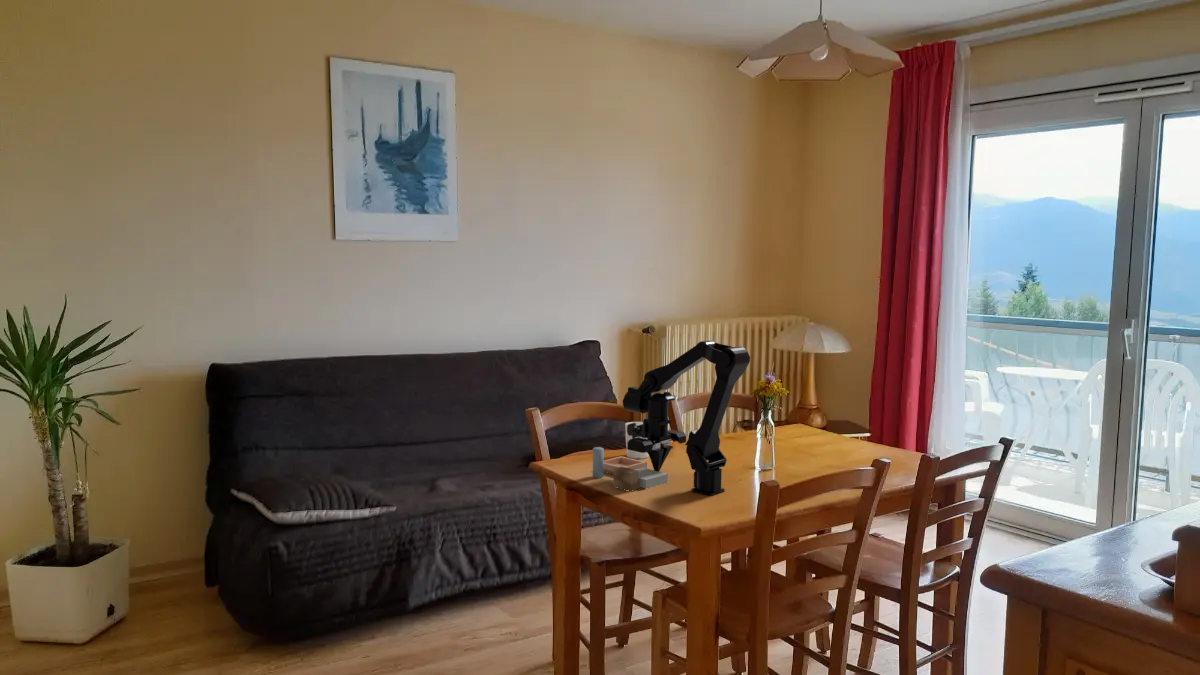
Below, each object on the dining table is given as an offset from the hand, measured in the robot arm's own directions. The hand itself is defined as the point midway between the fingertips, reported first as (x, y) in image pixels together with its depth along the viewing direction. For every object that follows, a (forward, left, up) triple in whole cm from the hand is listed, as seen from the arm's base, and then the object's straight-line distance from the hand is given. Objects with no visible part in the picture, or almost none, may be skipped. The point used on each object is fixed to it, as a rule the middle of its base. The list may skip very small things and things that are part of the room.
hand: (656, 471), depth 224 cm
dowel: (+13, +10, -2) cm, 16 cm away
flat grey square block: (0, +5, -3) cm, 6 cm away
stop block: (0, +13, -2) cm, 13 cm away
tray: (+13, 0, -2) cm, 13 cm away
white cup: (+21, -16, -2) cm, 27 cm away
